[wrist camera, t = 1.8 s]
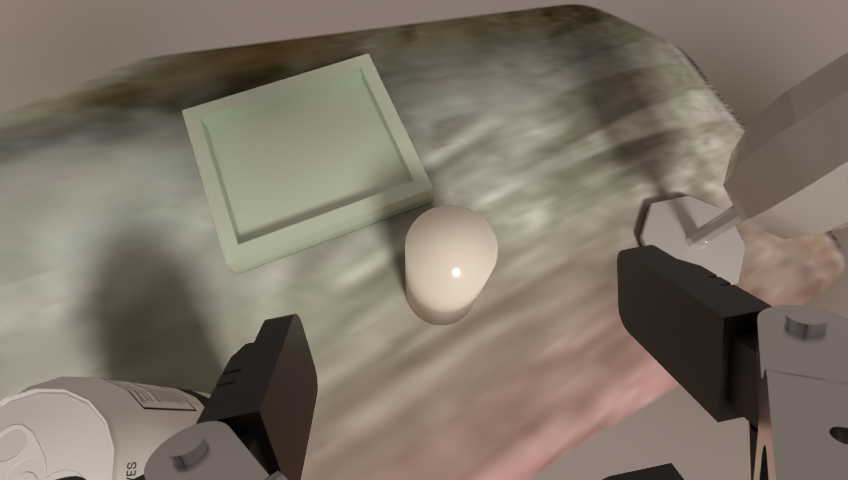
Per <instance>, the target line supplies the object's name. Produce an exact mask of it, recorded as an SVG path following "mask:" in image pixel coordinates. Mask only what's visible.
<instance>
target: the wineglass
mask: <svg viewBox="0 0 848 480" xmlns="http://www.w3.org/2000/svg"><path fill="white" fill-rule="evenodd" d="M723 186H724V188H725V190H726V192H727V193H728V195H729V197H730V199H731V201H732V203H733V206H732V207H730V208H729V209H727V210H724V209H721V208H718V207H716V206H713V205H711V204H708V203H706V202H703V201H701V200H698V199H696V198H693V197H691V196H685V197H680V198H675V199H670V200H666V201H661V202H656V203H652V204H650V205H649V208H648V211H647V215H646V218H645V221H644V225H643V228H642V231H641V235H640V238H639V240H640V242H641V245H642V246H647V245H654V246H656V247H658V248H660V249H661V250H663V251H665V252H666V253H668V254H670V255H671V256H673V257H675V258H676V259H680V260H683V261H687V262H690V263H694V264H697V265H701V266H702V267H704V268H706V269H708V270H709V271H711V272H713V273H715V274H716V275H717V277H721V278H723V279H725V280H727V281H728V282H730V283H731V285H736V284H737V283H738V281H739V276H740V271H741V267H742V262H743V257H744V252H745V248H746V247H745V245H744V243H743V241H742V239H741V237H740V235H739V233H738V231H737V229H736V227H737V226H738V225H740V224H742V223H746V224H748V225H751V226H753V227H756V228H758V229H761V230H763V231H766V232H768V233H771V234H773V235H776V236H778V237H781V238H783V239H788V238H794V237H800V236H805V235H811V234H817V233H823V232H828V231H832V230H837V229H841V228H845V227H848V53H846V54H844V55H842V56H841V57H839V58H838V59H836V60H834V61H833V62H831V63H830V64H828V65H827V66H825V67H823V68H822V69H820V70H819V71H817V72H816V73H814V74H813V75H811V76H809V77H808V78H806V79H805V80H803V81H801V82H800V83H799V84H797V85H795V86H794V87H792V88H791V89H789V90H787V91H786V92H784V93H783V94H782V95H781V96H780V97H778V98H777V99H776V100H775V101H774V102H773V103H772V104H771V105H769V106H768V107H767V108H766V109H765V110H763V111H762V112H761V113H760V114H759V115H758V116H757V117H755V118H754V119H753V120H752V121H751V122H750V124H749V126H748V127H747V129H746V130H745V132H744V134H743V135H742V137H741V139H740V140H739V142H738V143H737V145H736V147H735V148H734V150H733V151H732V153H731V156H730V160H729V164H728V168H727V173H726V177H725V181H724V185H723Z"/></svg>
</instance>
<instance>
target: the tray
mask: <svg viewBox="0 0 848 480" xmlns="http://www.w3.org/2000/svg"><path fill="white" fill-rule="evenodd" d="M182 113H183V116H184V120H185V123H186V127H187V130H188V134H189V137H190V140H191V144H192V147H193V151H194V154H195V158H196V161H197V165H198V168H199V171H200V175H201V178H202V182H203V185H204V189H205V192H206V196H207V199H208V203H209V206H210V209H211V213H212V216H213V220H214V223H215V227H216V230H217V234H218V237H219V241H220V244H221V247H222V251H223V254H224V258H225V261H226V264H227V265H228V266H229V267H230V268H231V269H232V270H234V271H235V272H236V273H237V274H239V273H242V272H245V271H247V270H250V269H253V268H255V267H258V266H261V265H264V264H266V263H269V262H272V261H274V260H277V259H280V258H282V257H285V256H288V255H290V254H293V253H296V252H298V251H301V250H304V249H306V248H309V247H312V246H315V245H317V244H320V243H323V242H325V241H328V240H331V239H333V238H336V237H339V236H341V235H344V234H347V233H349V232H352V231H355V230H357V229H360V228H363V227H365V226H368V225H371V224H374V223H376V222H379V221H382V220H384V219H387V218H390V217H392V216H395V215H398V214H400V213H403V212H406V211H408V210H411V209H414V208H416V207H419V206H422V205H425V204H427V203H430V202H432V198H433V186H432V184H431V182H430V180H429V178H428V176H427V174H426V172H425V170H424V167H423V165H422V163H421V161H420V159H419V157H418V155H417V153H416V151H415V149H414V147H413V145H412V143H411V141H410V139H409V136H408V134H407V132H406V130H405V128H404V126H403V124H402V122H401V120H400V118H399V116H398V114H397V112H396V110H395V107H394V105H393V103H392V101H391V99H390V97H389V95H388V93H387V91H386V89H385V87H384V85H383V83H382V81H381V79H380V76H379V74H378V72H377V70H376V68H375V66H374V64H373V62H372V60H371V58H370V56H369V54H365V55H361V56H358V57H355V58H352V59H348V60H345V61H342V62H339V63H335V64H332V65H329V66H325V67H322V68H319V69H316V70H312V71H309V72H306V73H303V74H299V75H296V76H293V77H289V78H286V79H283V80H280V81H276V82H273V83H270V84H267V85H263V86H260V87H257V88H253V89H250V90H247V91H244V92H240V93H237V94H234V95H231V96H227V97H224V98H221V99H218V100H214V101H211V102H208V103H204V104H201V105H198V106H195V107H191V108H188V109H185V110H182Z"/></svg>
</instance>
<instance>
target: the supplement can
mask: <svg viewBox="0 0 848 480" xmlns="http://www.w3.org/2000/svg"><path fill="white" fill-rule="evenodd" d="M210 396H211V394H209V393H205V392H198V391H191V390H183V389H176V388H168V387H161V386H154V385H146V384H139V383H131V382H124V381H116V380H109V379H102V378H94V377H59V378H56V379H53V380H50V381H47V382H43V383H40V384H37V385H34V386H30V387H28V388H27V389H25V390H23V391H22V392H20V393H19V394H17V395H13V396H10V397H7V398H4V399H3V400H1V401H0V480H56V479H60V478H63V477H69V476H79V477H83V478H85V479H86V480H132V479H134V478H136V477H139V476H141V475H143V474H144V468H145V465H146V462H147V461H148V459H149V457H150V456H151V455H152V453H153V452H154V451H155V450H156V449H157V448H158V447H159V446H160V445H161V444H162V443H163V442H164V441H166V440H167V439H168V438H170V437H171V436H173V435H174V434H176V433H178V432H180V431H181V430H183V429H185V428H188V427H190V426H193V425H195V424H196V422H197V420H198V419H199V417H200V415H201V413H202V411H203V409H204V407H205V405H206V403H207V402H208V400H209V398H210Z"/></svg>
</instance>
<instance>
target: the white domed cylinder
mask: <svg viewBox="0 0 848 480" xmlns="http://www.w3.org/2000/svg"><path fill="white" fill-rule="evenodd" d="M497 255H498V246H497V240H496V237H495V234H494V232H493V230H492V228H491V226H490V225H489V224H488V222H487V221H486V220H485V219H484V218H483V217H482V216H480V215H479V214H478V213H476V212H474V211H473V210H470V209H468V208H465V207H462V206H456V205H443V206H438V207H435V208H432V209H430V210H428V211H426V212H424V213H423V214H421V215H420V216H419V217H418V218H417V219H416V220H415V221H414V222H413V224H412V225H411V227H410V229H409V231H408V233H407V236H406V241H405V276H406V297H407V301H408V304H409V306H410V308H411V309H412V311H413V312H414V313H415V314H416V315H417V316H418V317H419V318H420V319H422V320H424V321H426V322H428V323H431V324H435V325H448V324H452V323H455V322H457V321H459V320H460V319H462V318H463V317H464V316H465V315H467V313H468V312H469V311H470V309H471V308H472V306H473V304H474V302H475V301H476V299H477V297H478V295H479V293H480V292H481V290H482V288H483V286H484V284H485V283H486V281H487V279H488V277H489V276H490V274H491V272H492V270H493V268H494V266H495V264H496V260H497Z"/></svg>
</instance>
